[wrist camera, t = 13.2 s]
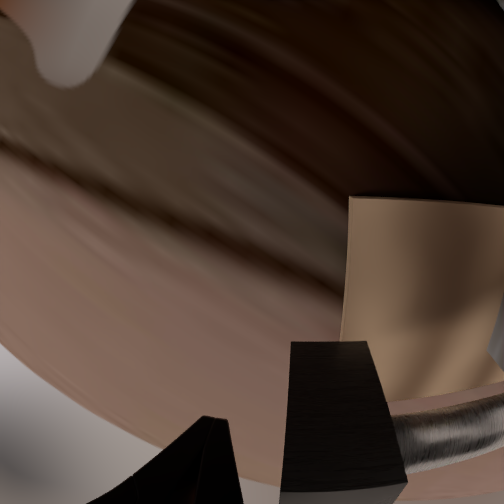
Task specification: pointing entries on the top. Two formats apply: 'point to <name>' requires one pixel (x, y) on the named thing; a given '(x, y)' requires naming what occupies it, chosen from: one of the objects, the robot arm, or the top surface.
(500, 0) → the lotion bottle
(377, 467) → the shaft
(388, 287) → the shaft stand
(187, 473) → the robot arm
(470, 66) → the top surface
